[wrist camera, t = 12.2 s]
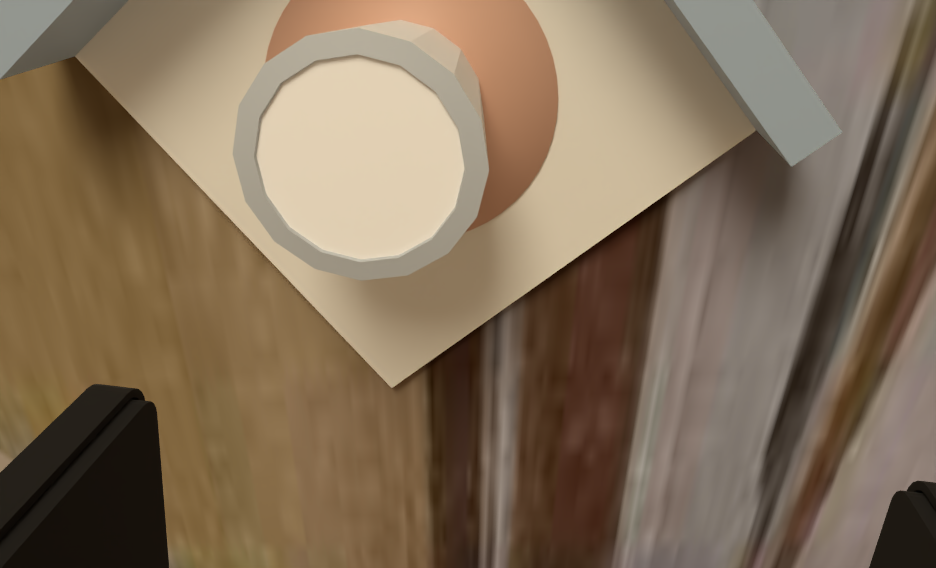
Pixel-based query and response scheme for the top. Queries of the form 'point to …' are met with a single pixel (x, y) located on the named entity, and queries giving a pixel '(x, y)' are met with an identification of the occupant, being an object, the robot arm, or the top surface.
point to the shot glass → (364, 149)
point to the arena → (505, 116)
